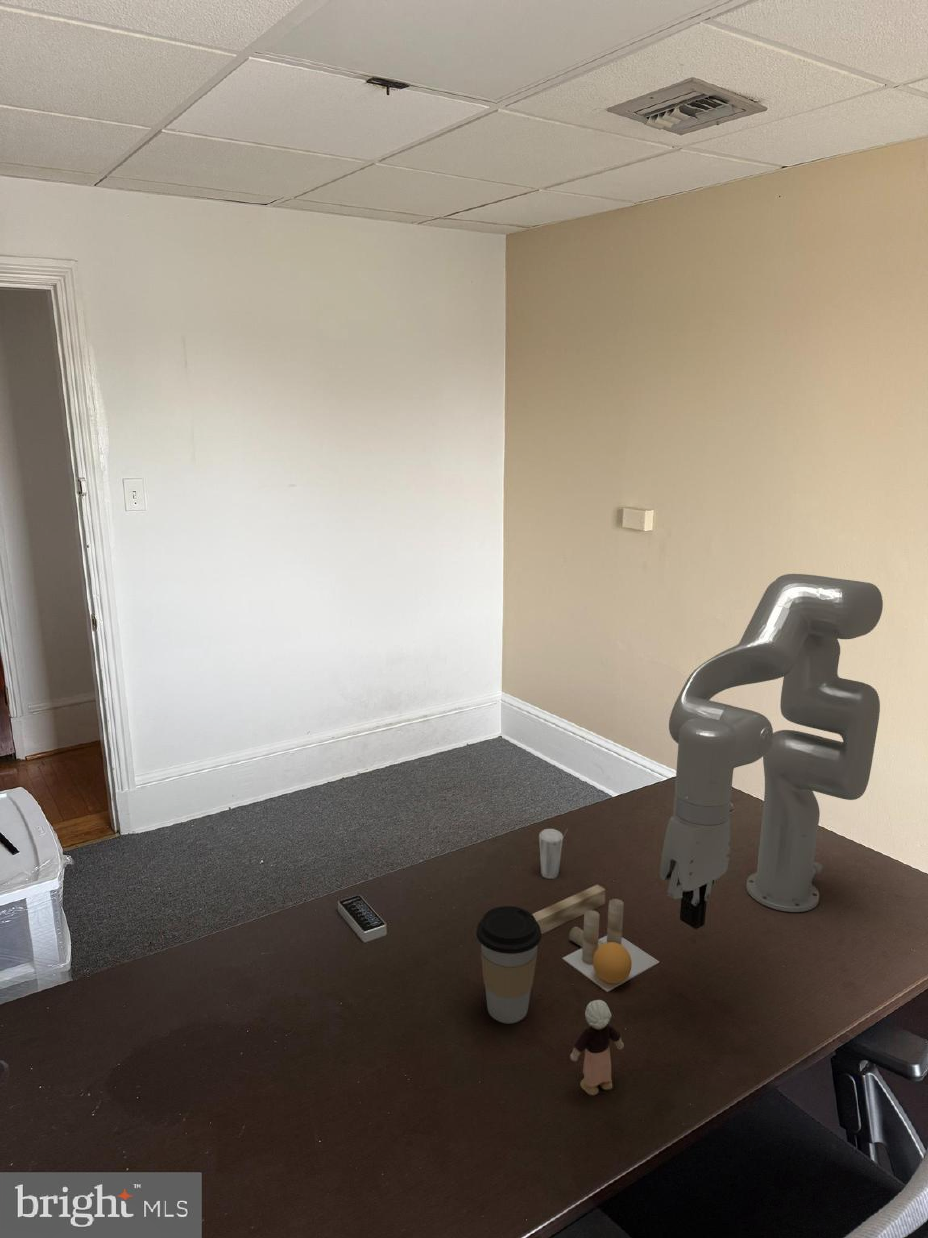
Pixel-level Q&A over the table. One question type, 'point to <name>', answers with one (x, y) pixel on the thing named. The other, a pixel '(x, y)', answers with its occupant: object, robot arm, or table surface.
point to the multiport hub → (362, 918)
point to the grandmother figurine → (596, 1048)
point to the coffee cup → (508, 960)
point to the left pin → (590, 936)
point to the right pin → (615, 921)
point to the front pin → (579, 936)
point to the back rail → (570, 908)
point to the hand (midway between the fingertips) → (691, 923)
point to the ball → (612, 962)
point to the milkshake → (550, 852)
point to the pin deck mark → (639, 965)
